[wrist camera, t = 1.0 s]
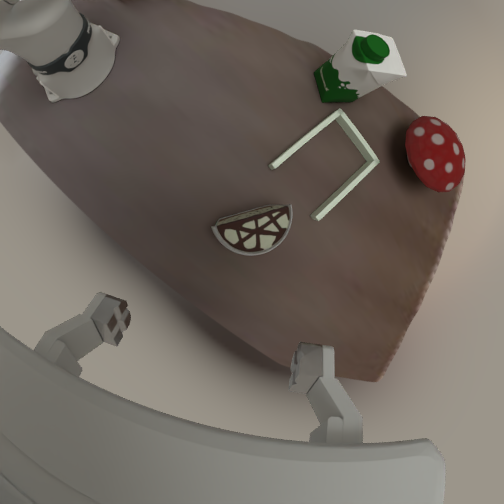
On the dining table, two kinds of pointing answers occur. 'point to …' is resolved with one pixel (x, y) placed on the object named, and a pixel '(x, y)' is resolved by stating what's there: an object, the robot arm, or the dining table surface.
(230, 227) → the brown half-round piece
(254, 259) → the dining table surface
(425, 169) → the decorative mushroom
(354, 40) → the milk carton
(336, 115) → the pale green u-shaped frame
